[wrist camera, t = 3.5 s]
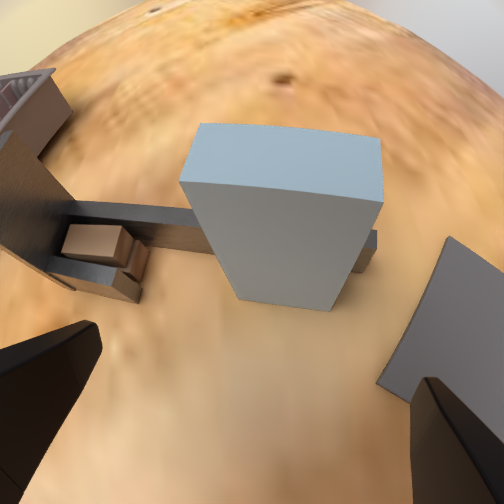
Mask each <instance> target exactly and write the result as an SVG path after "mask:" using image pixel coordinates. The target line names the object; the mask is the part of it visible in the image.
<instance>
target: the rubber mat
mask: <svg viewBox="0 0 504 504" xmlns="http://www.w3.org/2000/svg"><path fill="white" fill-rule="evenodd" d="M425 376H430V377H438V378H439V379H440V380H441V381H442V382H443V383H444V384H445V385H446V386H447V387H448V388H449V389H450V390H451V391H452V392H453V393H454V394H455V395H456V396H457V397H458V398H460V399H461V400H462V401H463V402H464V403H465V404H466V405H467V406H468V407H469V408H470V409H471V410H472V411H473V412H474V413H475V414H476V415H477V416H478V417H479V418H480V419H481V420H482V422H483V423H484V424H485V425H486V426H487V427H488V428H489V429H490V430H491V431H492V432H493V433H494V434H495V435H496V436H497V437H498V438H499V439H500V440H501V441H502V442H503V443H504V273H502V272H501V271H500V270H498V269H497V268H496V267H494V266H493V265H491V264H490V263H489V262H487V261H486V260H484V259H483V258H482V257H480V256H479V255H477V254H476V253H474V252H473V251H471V250H470V249H469V248H467V247H466V246H464V245H463V244H461V243H460V242H458V241H457V240H455V239H454V238H452V237H451V236H448V238H447V239H446V241H445V243H444V246H443V249H442V251H441V254H440V256H439V259H438V261H437V264H436V266H435V268H434V271H433V273H432V275H431V278H430V280H429V282H428V285H427V287H426V289H425V291H424V293H423V296H422V298H421V300H420V302H419V304H418V306H417V308H416V310H415V313H414V315H413V317H412V319H411V321H410V323H409V325H408V327H407V328H406V330H405V332H404V334H403V336H402V338H401V340H400V342H399V344H398V346H397V347H396V349H395V351H394V353H393V355H392V356H391V358H390V360H389V362H388V364H387V365H386V367H385V369H384V370H383V372H382V374H381V375H380V377H379V379H378V381H377V382H376V384H377V385H379V386H381V387H382V388H384V389H386V390H387V391H389V392H391V393H392V394H394V395H396V396H397V397H399V398H401V399H403V400H404V401H406V402H408V403H409V404H410V403H411V399H412V396H413V394H414V393H415V391H416V389H417V386H418V384H419V382H420V380H421V379H422V378H423V377H425Z"/></svg>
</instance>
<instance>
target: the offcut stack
mask: <svg viewBox="0 0 504 504" xmlns="http://www.w3.org/2000/svg"><path fill="white" fill-rule="evenodd" d="M61 253H63V254H64V255H65V256H67V257H68V258H69V259H72V260H77V261H82V262H87V263H93V264H98V265H103V266H109V267H114V268H117V269H119V270H120V271H121V272H122V273H124V274H125V275H126V276H127V277H129V278H130V279H131V280H133V281H138V282H141V279H142V276H143V272H144V269H145V265H146V262H147V259H148V255H149V251H148V249H147V248H146V247H145V246H144V245H143V244H142V243H141V242H140V241H139V240H134V239H133V238H132V236H131V235H130V234H129V233H128V232H127V231H126V230H125V229H124V228H123V226H113V225H76V224H70V227H69V230H68V233H67V236H66V239H65V242H64V245H63V248H62V251H61Z"/></svg>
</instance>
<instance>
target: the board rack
mask: <svg viewBox="0 0 504 504" xmlns="http://www.w3.org/2000/svg"><path fill="white" fill-rule="evenodd" d="M70 224H76V225H113V226H123V228H124V229H125V230H126V231H127V232H128V233H129V234H130V235H131V236H132V238H133V239H134V240H139V241H140V242H141V243H142V244H143V245H147V246H155V247H162V248H170V249H177V250H185V251H192V252H200V253H207V254H215V253H214V251H213V249H212V247H211V245H210V243H209V241H208V239H207V237H206V235H205V234H204V232H203V230H202V228H201V226H200V224H199V222H198V220H197V217H196V215H195V213H194V211H193V209H186V208H174V207H163V206H150V205H137V204H124V203H109V202H94V201H77V200H75V199H74V198H73V197H72V196H71V195H70V194H69V193H68V192H67V191H66V190H65V188H64V187H63V186H62V185H61V184H60V183H59V182H58V181H57V180H56V179H55V178H54V176H53V175H52V174H51V173H50V172H49V171H48V170H47V169H46V167H45V166H44V165H43V164H42V163H41V162H40V161H39V160H38V158H37V157H36V156H35V155H34V154H33V153H32V151H31V150H30V149H29V148H28V147H27V146H26V144H25V143H24V142H23V141H22V140H21V138H20V137H19V136H18V135H17V134H16V132H15V131H14V130H11V131H6V132H3V134H2V135H1V137H0V248H1V249H2V250H4V251H5V252H7V253H8V254H10V255H11V256H13V257H14V258H16V259H17V260H19V261H20V262H22V263H24V264H25V265H27V266H28V267H30V268H32V269H33V270H35V271H36V272H38V273H40V274H41V275H43V276H45V277H46V278H48V279H50V280H51V281H53V282H55V283H56V284H58V285H60V286H62V287H63V288H66V289H70V290H73V291H75V289H77V290H81V291H85V292H89V293H93V294H97V295H101V296H105V297H109V298H114V299H118V300H122V301H127V302H131V303H136V304H138V302H139V298H140V295H141V291H142V288H141V287H140V286H139V285H138V284H136V283H135V282H134V281H132V280H131V279H130V278H129V277H127V276H126V275H125V274H124V273H122V272H121V271H120V270H119V269H117V268H114V267H109V266H103V265H98V264H93V263H87V262H82V261H77V260H72V259H69V258H68V257H67V256H65V255H64V254H63V253H61V251H62V248H63V245H64V242H65V239H66V236H67V233H68V230H69V227H70ZM376 250H377V230H371V231H370V233H369V235H368V238H367V240H366V242H365V244H364V246H363V248H362V250H361V252H360V254H359V256H358V258H357V260H356V262H355V264H354V266H353V268H352V270H351V272H356V273H363V271H364V270H365V268H366V266H367V265H368V263H369V261H370V260H371V258H372V256H373V255H374V253H375V251H376Z"/></svg>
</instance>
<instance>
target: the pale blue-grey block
mask: <svg viewBox="0 0 504 504" xmlns="http://www.w3.org/2000/svg"><path fill="white" fill-rule="evenodd" d="M179 183H180V185H181V187H182V189H183V191H184V193H185V195H186V197H187V199H188V201H189V203H190V205H191V207H192V209H193V211H194V213H195V215H196V217H197V220H198V222H199V224H200V226H201V228H202V230H203V232H204V234H205V235H206V237H207V239H208V241H209V243H210V245H211V247H212V249H213V251H214V253H215V255H216V257H217V259H218V261H219V263H220V265H221V267H222V269H223V271H224V273H225V275H226V277H227V279H228V281H229V282H230V284H231V286H232V288H233V290H234V292H235V294H236V296H237V298H238V299H241V300H247V301H254V302H261V303H268V304H275V305H282V306H289V307H297V308H304V309H312V310H320V311H328V312H329V311H330V310H331V308H332V306H333V304H334V302H335V300H336V298H337V297H338V295H339V293H340V291H341V289H342V287H343V285H344V283H345V281H346V280H347V278H348V276H349V274H350V272H351V270H352V268H353V266H354V264H355V262H356V260H357V258H358V256H359V254H360V252H361V250H362V248H363V246H364V244H365V242H366V240H367V238H368V235H369V233H370V231H371V229H372V227H373V225H374V223H375V221H376V218H377V216H378V214H379V212H380V210H381V207H382V205H383V203H384V193H383V173H382V158H381V146H380V138H374V137H367V136H361V135H354V134H347V133H339V132H331V131H323V130H314V129H304V128H293V127H281V126H267V125H249V124H222V123H200V126H199V128H198V131H197V133H196V136H195V138H194V141H193V143H192V146H191V149H190V151H189V154H188V157H187V159H186V162H185V165H184V167H183V170H182V173H181V176H180V178H179Z"/></svg>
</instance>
